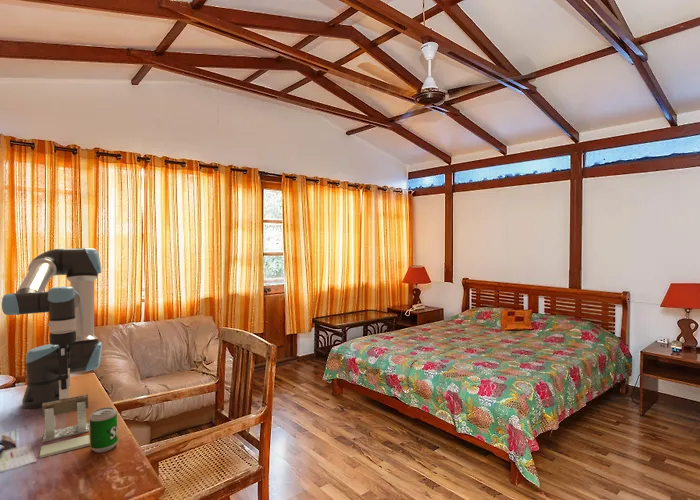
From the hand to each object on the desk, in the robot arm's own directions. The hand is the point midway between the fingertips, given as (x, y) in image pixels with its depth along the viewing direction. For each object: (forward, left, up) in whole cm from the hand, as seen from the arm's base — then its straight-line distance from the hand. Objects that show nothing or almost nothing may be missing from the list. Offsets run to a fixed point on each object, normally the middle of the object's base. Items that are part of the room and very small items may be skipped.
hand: (65, 392), depth 141 cm
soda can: (+20, +11, -15) cm, 27 cm away
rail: (0, 0, -7) cm, 7 cm away
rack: (0, 0, -14) cm, 14 cm away
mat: (+12, 0, -14) cm, 18 cm away
